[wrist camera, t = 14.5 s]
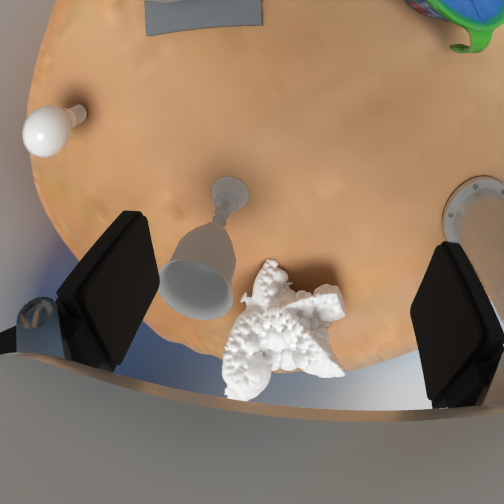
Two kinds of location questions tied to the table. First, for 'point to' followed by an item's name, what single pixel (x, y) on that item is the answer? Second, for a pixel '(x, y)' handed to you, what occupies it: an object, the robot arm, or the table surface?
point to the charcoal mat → (200, 15)
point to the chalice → (205, 260)
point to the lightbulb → (50, 128)
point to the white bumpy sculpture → (280, 333)
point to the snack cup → (466, 18)
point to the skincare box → (166, 1)
